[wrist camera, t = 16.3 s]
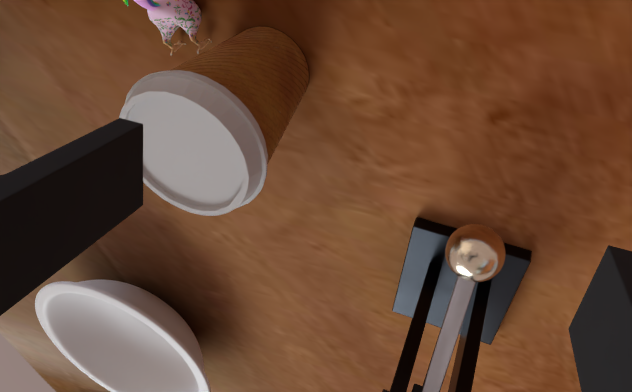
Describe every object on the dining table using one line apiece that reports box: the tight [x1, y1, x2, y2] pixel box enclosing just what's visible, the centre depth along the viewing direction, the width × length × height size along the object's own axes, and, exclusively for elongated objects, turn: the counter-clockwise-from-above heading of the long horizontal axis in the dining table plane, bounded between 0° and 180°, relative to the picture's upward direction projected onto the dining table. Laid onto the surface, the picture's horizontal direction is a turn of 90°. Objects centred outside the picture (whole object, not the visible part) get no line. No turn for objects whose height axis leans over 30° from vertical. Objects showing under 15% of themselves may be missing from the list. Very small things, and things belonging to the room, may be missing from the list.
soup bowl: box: [35, 280, 211, 392], centre depth 67 cm, size 24×24×7 cm
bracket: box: [382, 217, 532, 392], centre depth 41 cm, size 11×9×15 cm
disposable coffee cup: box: [119, 26, 309, 216], centre depth 36 cm, size 10×10×12 cm
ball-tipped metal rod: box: [412, 224, 506, 392], centre depth 35 cm, size 15×4×4 cm, turn 178°
